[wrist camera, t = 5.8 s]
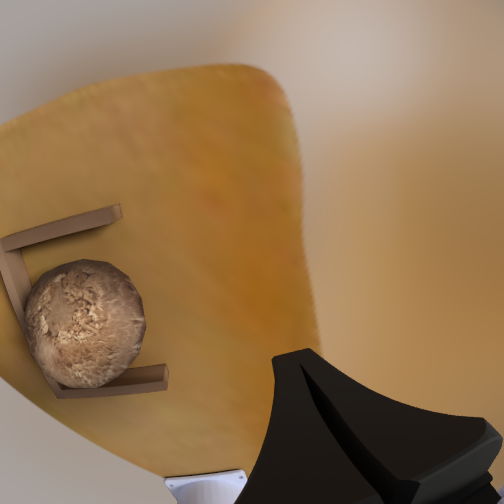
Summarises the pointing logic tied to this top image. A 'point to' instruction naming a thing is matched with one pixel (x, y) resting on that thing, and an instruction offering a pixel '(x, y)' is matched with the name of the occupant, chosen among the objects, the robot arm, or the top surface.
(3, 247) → the walnut frame
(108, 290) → the mushroom
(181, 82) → the top surface
